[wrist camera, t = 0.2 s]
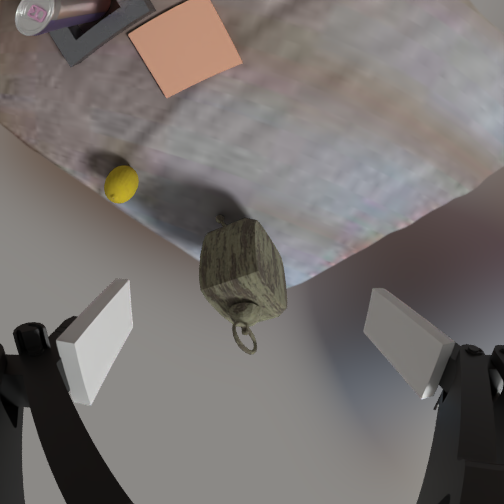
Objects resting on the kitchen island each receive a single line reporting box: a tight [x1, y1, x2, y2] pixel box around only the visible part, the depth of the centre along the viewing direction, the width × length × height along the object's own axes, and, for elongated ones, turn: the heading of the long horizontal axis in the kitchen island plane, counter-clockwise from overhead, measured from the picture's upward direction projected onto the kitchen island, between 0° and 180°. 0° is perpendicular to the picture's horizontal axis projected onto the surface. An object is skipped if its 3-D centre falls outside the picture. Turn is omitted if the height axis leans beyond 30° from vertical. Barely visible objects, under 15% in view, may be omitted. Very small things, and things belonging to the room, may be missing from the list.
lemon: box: [104, 165, 139, 203], centre depth 44 cm, size 6×6×8 cm
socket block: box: [49, 0, 156, 67], centre depth 24 cm, size 14×14×3 cm
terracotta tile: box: [128, 0, 243, 98], centre depth 32 cm, size 12×12×1 cm
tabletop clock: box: [199, 215, 287, 355], centre depth 49 cm, size 14×9×25 cm, turn 27°
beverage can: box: [15, 0, 111, 36], centre depth 20 cm, size 6×6×15 cm
